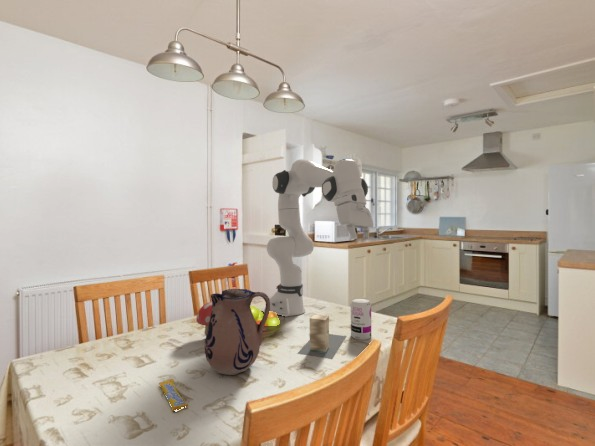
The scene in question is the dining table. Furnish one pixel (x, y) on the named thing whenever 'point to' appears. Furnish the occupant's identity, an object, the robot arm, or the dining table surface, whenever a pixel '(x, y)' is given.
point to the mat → (334, 345)
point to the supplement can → (361, 319)
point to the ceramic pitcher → (234, 331)
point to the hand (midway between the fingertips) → (360, 239)
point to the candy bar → (172, 394)
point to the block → (319, 333)
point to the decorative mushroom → (204, 315)
